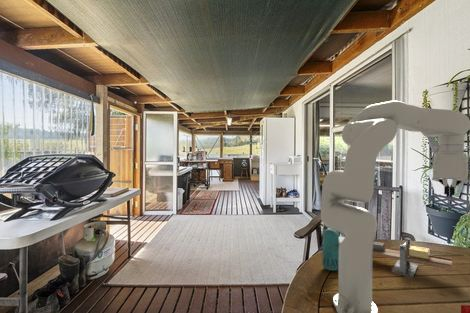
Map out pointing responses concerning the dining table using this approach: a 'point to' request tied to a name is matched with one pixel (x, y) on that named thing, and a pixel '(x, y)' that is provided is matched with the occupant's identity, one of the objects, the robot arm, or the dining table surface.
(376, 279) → the dining table surface
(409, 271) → the stand
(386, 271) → the dining table surface
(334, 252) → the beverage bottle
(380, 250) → the beam
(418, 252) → the block
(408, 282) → the dining table surface
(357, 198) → the robot arm
